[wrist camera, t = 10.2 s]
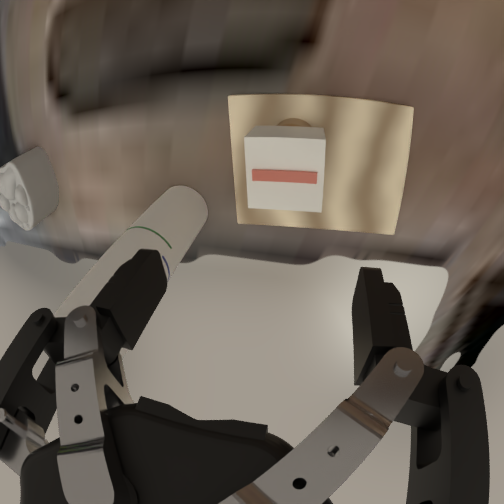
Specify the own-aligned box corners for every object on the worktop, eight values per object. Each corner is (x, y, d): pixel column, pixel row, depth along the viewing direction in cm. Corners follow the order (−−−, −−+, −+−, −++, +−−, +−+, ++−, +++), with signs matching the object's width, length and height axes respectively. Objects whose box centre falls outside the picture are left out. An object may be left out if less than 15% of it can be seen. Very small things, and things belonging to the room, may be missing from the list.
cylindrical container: (170, 233, 42) (75, 372, 22) (154, 190, 38) (31, 321, 18) (214, 228, 40) (127, 388, 20) (199, 181, 36) (77, 331, 16)
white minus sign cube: (323, 127, 21) (325, 140, 18) (320, 189, 25) (321, 214, 21) (255, 125, 22) (242, 138, 19) (258, 185, 26) (247, 209, 22)
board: (409, 106, 25) (413, 107, 24) (391, 228, 34) (393, 234, 33) (231, 94, 29) (227, 96, 27) (240, 217, 38) (237, 223, 37)
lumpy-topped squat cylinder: (44, 142, 36) (8, 162, 29) (67, 208, 43) (36, 234, 36) (18, 156, 39) (-14, 176, 32) (39, 213, 46) (11, 237, 39)
